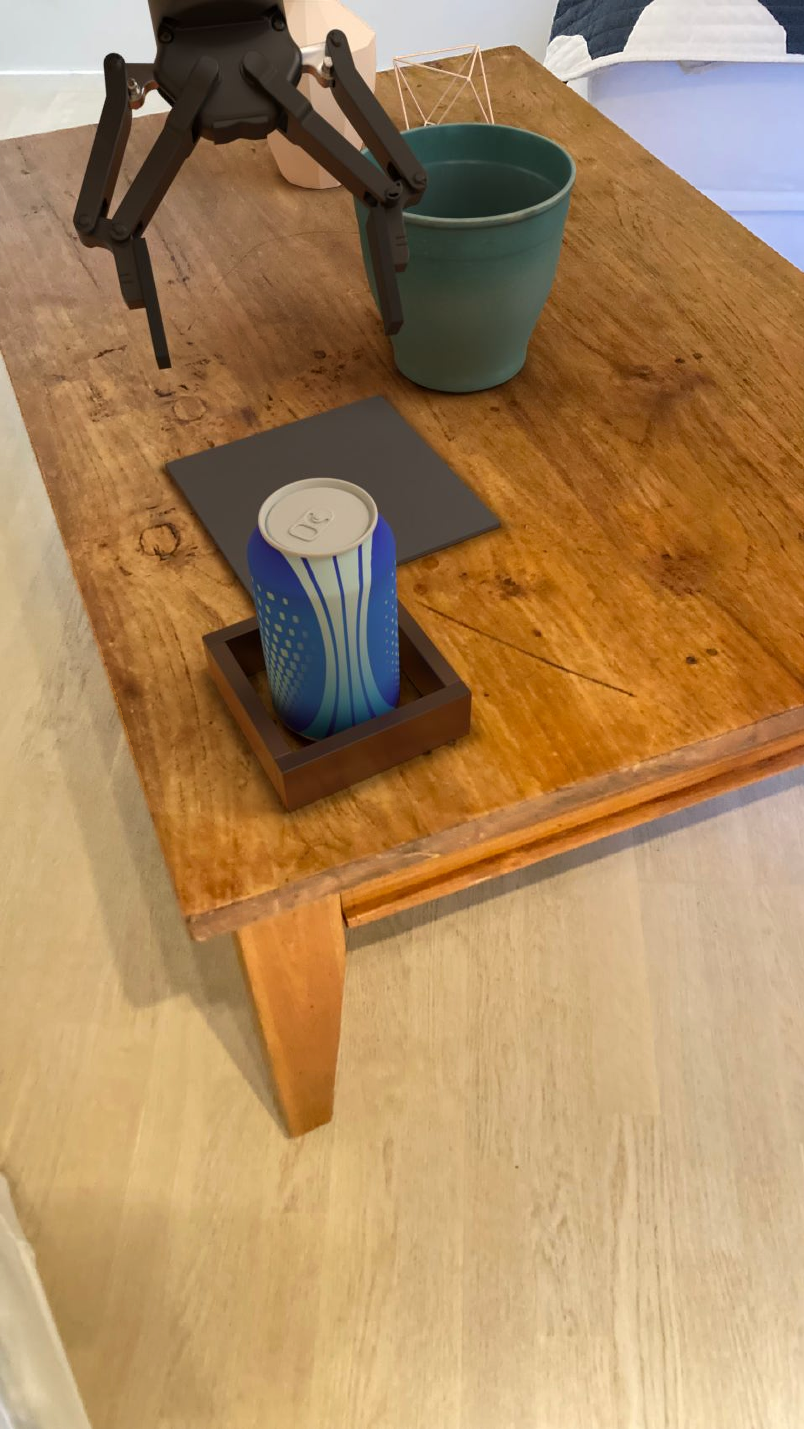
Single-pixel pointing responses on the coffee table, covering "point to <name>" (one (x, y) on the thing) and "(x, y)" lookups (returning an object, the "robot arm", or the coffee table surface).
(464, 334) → the flower pot
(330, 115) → the vase
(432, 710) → the can holder
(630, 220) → the coffee table surface
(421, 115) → the geometric polyhedron
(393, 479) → the rubber mat
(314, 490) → the beer can
